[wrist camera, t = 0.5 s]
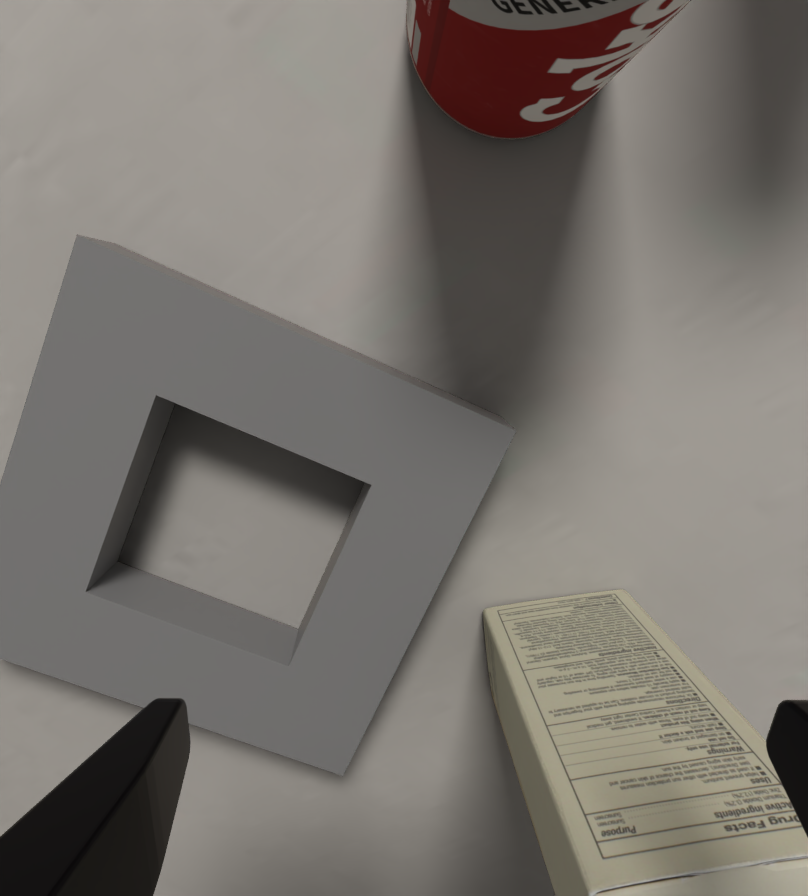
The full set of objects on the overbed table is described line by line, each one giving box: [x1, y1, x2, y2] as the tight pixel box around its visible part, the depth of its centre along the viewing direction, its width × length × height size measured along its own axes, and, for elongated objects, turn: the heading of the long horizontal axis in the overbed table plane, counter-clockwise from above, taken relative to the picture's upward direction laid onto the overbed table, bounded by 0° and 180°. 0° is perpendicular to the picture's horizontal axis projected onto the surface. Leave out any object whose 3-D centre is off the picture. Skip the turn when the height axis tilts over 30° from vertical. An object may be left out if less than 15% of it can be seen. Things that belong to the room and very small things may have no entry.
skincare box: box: [483, 589, 808, 896], centre depth 18 cm, size 6×4×12 cm
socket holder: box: [0, 235, 516, 776], centre depth 21 cm, size 15×15×2 cm
